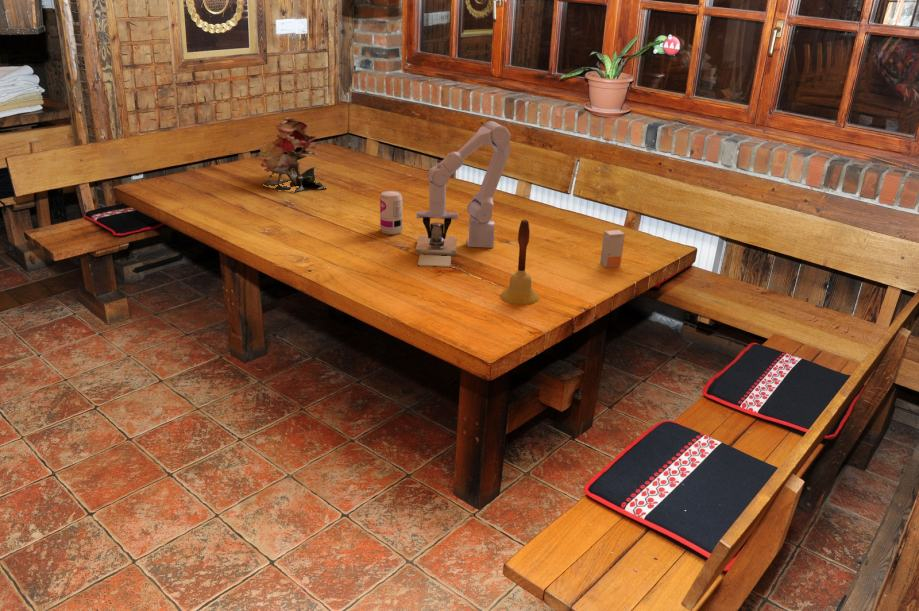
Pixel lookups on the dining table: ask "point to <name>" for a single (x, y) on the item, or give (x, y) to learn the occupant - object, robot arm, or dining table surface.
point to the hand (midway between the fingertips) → (436, 237)
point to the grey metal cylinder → (436, 233)
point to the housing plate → (428, 249)
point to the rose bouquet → (288, 155)
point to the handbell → (521, 274)
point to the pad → (434, 260)
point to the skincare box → (612, 248)
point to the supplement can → (391, 212)
